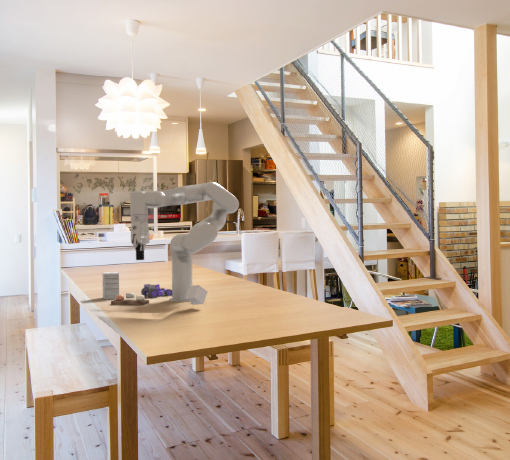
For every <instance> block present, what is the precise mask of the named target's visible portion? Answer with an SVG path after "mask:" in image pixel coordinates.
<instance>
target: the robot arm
mask: <svg viewBox="0 0 510 460" xmlns="http://www.w3.org/2000/svg"><path fill="white" fill-rule="evenodd" d="M129 198H130V200H129V202H130V203H129V204H130V208H129V209H130V223H131V224H130V243H131V244H132V247H133V248H134V249H135V260H136V261H143V260H145V248H146V246H147V244H148V245H149V243H150V241H151V240H150V228H149V211H148V210H149V209H158V208H162V207H168V206H180V205H181V206H182V205H188V204H193V203H200V202H207V201H213V203H212V212H211V214H210V215H208V216H207V217H206V218H204V219H203V220H201V221H200V222H198V223H195V224H194V225H193V226H191V228H190V230H189V232H188V233H178V234H176V235H174V236H173V237H172V238H171V240H170V242H169V243H170V244H169V247H170V248H169V249H170V255H171V256H170V257H171V288H172V289H171V290H172V296H171V298H169V299H168V301H169V302H173V303H186V302H189V301H188V300H186V299H185V297H186V294H187V291H188V288H189V286H193V259H192V255H195V254H196V253H198V252H200V251H201V250H203V249H204V248H206V247H207V246H209V245H210V244H212V243H214V241H215V240H216V239H217V238H218V234H219V233H218V232H219V231H220V230H221V229H223V228H224V226H225V224H226V222H227V215H228V214H234V213H236V212H237V211H238V209H239V207H240V202H239V200H238V199H237V196H235V195H233V193H231V192H229V191H228V190H227V189H226V188H225V187H223V186H222V185H220V184H219V183H217V182H215V181H209V182H204V183H197V184H190V185H182V186H178V187H174V188H171V189H165V190H151V191H143V190H133V191H131V192H130V194H129Z"/></svg>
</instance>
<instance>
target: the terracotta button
mask: <svg viewBox="0 0 510 460" xmlns="http://www.w3.org/2000/svg"><path fill="white" fill-rule="evenodd" d="M124 299H125V295H124V294H119V295H116V299H115V300H124Z"/></svg>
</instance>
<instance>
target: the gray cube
mask: <svg viewBox="0 0 510 460" xmlns="http://www.w3.org/2000/svg"><path fill="white" fill-rule="evenodd" d="M207 295H208V291H207V290H206V289H205V288H203V287H202V286H200V285H199V284H197V285H195V284H194V285H192V286H189V288H188V291H187V294H186V297H185V299H186V300H188V302H190V303H191V304H192V305H204V303H205V301H206V297H207Z"/></svg>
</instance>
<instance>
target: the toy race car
mask: <svg viewBox="0 0 510 460" xmlns="http://www.w3.org/2000/svg"><path fill="white" fill-rule="evenodd" d="M140 293H141V294H140V295H144V297H146V298H147V297H149V298H150V299H157V298H159V297H172V289H170V288H165V287H161V286H160V284H159V283H157V284H151V283H146V284H143V288H141V290H140Z"/></svg>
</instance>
